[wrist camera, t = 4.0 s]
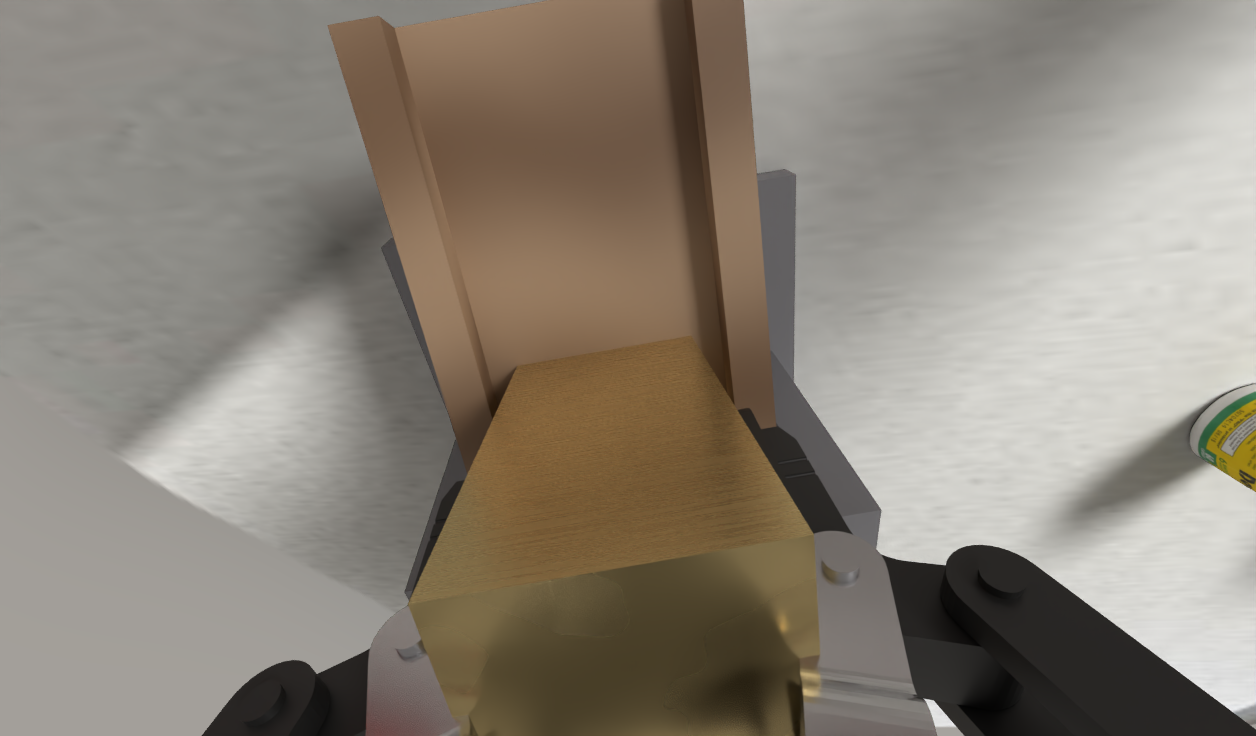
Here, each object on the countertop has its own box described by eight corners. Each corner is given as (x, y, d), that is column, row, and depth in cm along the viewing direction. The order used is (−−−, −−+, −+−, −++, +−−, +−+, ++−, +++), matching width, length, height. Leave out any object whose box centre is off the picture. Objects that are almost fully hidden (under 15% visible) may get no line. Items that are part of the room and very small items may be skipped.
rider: (517, 366, 13) (407, 603, 6) (691, 335, 13) (813, 534, 6) (554, 512, 15) (507, 856, 7) (710, 486, 15) (828, 802, 7)
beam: (336, 67, 13) (222, 16, 9) (758, -9, 12) (828, -93, 9) (578, 839, 23) (574, 970, 19) (813, 799, 23) (857, 922, 19)
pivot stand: (390, 238, 21) (231, 381, 11) (784, 169, 21) (960, 253, 11) (510, 543, 30) (478, 765, 20) (784, 496, 30) (881, 697, 20)
